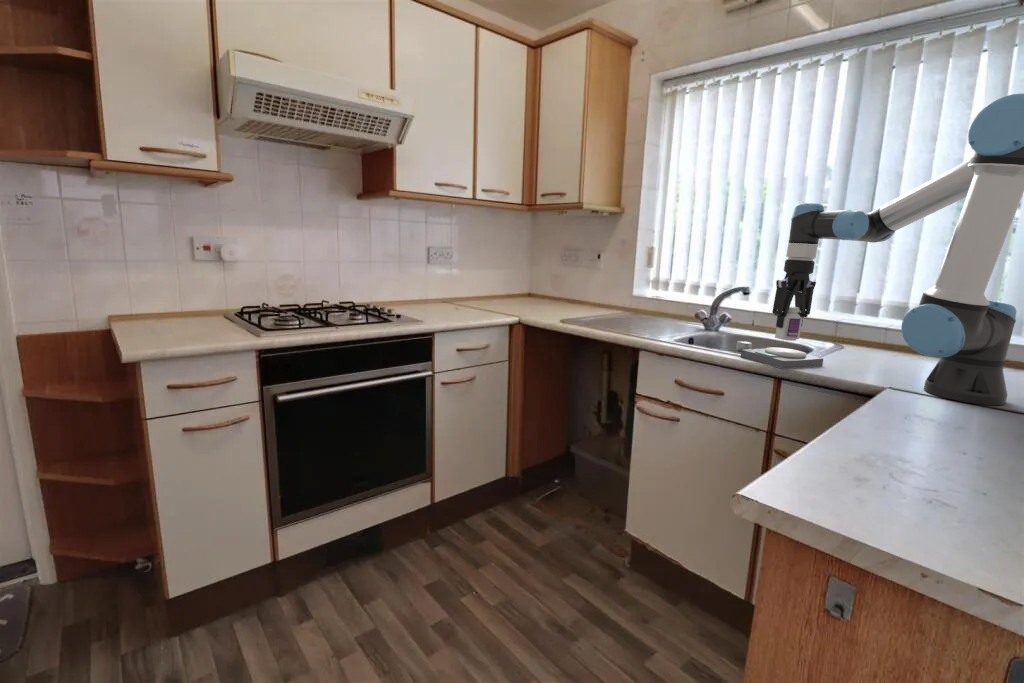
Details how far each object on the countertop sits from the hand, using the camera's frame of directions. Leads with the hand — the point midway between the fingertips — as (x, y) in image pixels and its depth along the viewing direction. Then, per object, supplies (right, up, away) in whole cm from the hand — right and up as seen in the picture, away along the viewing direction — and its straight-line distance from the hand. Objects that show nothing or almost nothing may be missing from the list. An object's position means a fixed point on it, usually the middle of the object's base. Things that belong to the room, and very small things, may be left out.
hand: (786, 338), depth 155 cm
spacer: (-7, -4, +13) cm, 16 cm away
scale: (-2, -7, +1) cm, 7 cm away
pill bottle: (0, -1, 0) cm, 1 cm away
